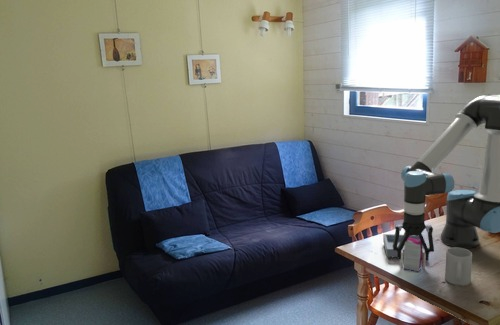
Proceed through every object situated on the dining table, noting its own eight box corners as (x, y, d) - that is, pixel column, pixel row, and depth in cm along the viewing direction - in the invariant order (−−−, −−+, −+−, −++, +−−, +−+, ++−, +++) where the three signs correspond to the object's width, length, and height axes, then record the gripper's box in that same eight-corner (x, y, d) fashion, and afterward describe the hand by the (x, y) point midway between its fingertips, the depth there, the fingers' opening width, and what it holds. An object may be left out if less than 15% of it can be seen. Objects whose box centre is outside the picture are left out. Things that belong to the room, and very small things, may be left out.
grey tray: (421, 245, 184) (421, 235, 183) (428, 261, 169) (428, 250, 168) (383, 244, 188) (383, 234, 187) (386, 259, 172) (387, 249, 171)
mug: (444, 272, 159) (446, 246, 157) (470, 276, 156) (471, 248, 153) (444, 288, 149) (446, 259, 146) (471, 292, 145) (473, 262, 143)
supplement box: (419, 272, 160) (420, 244, 158) (402, 269, 163) (403, 242, 161) (421, 266, 165) (422, 239, 163) (406, 263, 168) (406, 236, 166)
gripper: (440, 209, 161) (438, 263, 166) (385, 208, 166) (384, 261, 170) (445, 215, 154) (442, 272, 159) (387, 214, 158) (386, 270, 163)
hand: (412, 266), depth 165 cm, fingers open, 8 cm apart
